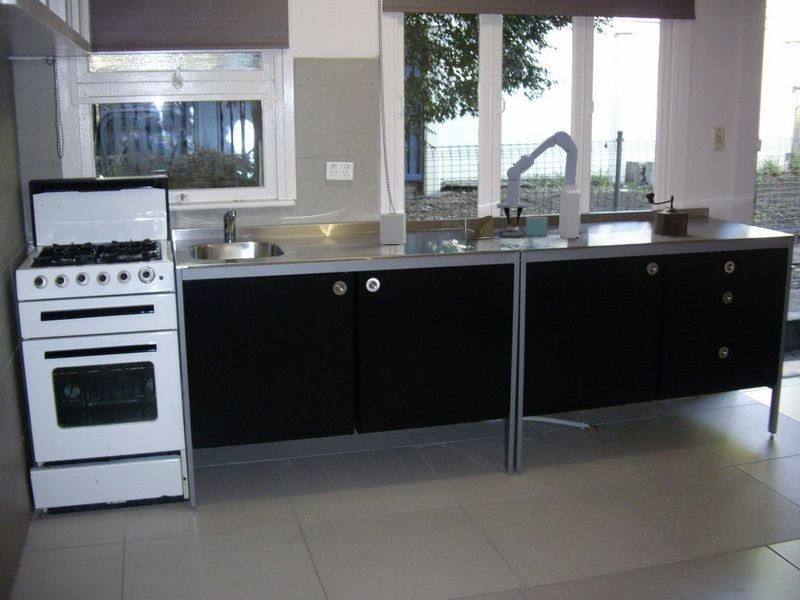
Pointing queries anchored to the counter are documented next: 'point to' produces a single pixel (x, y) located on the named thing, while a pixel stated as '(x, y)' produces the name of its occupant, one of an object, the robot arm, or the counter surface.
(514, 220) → the two-tone stacked blocks
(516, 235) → the pad
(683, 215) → the manual coffee grinder
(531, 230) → the tile
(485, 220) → the rock
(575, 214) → the milk
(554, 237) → the counter surface
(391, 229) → the light grey block
